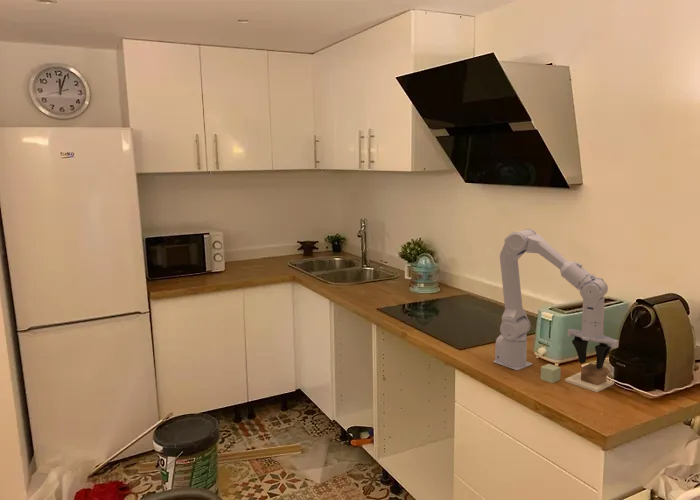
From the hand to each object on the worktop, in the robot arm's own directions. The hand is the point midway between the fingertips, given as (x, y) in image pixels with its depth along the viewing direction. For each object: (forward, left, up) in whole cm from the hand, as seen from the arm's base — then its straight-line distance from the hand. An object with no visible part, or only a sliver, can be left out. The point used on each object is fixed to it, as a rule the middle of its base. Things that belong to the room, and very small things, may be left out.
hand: (590, 365), depth 155 cm
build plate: (0, 0, -5) cm, 5 cm away
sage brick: (-9, -7, -5) cm, 12 cm away
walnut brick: (+1, 0, -4) cm, 5 cm away
